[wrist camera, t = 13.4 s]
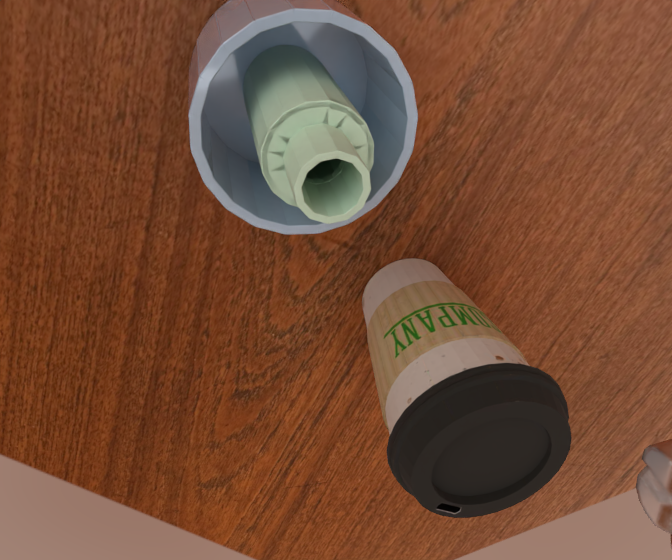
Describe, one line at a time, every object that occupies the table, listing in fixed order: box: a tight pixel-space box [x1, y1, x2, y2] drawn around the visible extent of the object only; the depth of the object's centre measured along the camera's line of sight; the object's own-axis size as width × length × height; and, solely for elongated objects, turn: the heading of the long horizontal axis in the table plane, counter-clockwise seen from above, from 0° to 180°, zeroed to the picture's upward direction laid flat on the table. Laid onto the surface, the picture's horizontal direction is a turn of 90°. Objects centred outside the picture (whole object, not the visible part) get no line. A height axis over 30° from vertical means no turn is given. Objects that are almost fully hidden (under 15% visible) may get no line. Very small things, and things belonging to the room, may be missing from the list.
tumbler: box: [188, 0, 418, 235], centre depth 29 cm, size 10×10×8 cm
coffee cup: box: [362, 258, 571, 518], centre depth 36 cm, size 10×10×15 cm
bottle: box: [243, 45, 374, 224], centre depth 27 cm, size 5×5×13 cm
